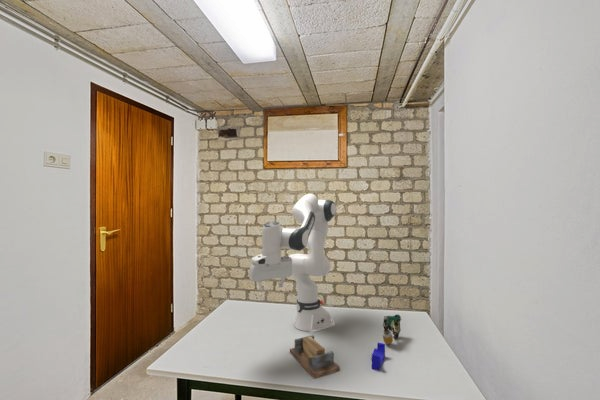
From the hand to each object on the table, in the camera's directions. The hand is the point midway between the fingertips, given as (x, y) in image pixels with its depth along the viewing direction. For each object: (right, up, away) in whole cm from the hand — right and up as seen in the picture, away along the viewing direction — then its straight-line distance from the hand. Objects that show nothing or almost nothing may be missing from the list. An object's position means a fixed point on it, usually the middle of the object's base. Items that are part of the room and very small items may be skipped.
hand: (271, 288), depth 136 cm
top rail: (+19, -27, -8) cm, 34 cm away
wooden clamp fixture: (+19, -29, -8) cm, 35 cm away
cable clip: (+46, -29, -9) cm, 55 cm away
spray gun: (+58, -29, +10) cm, 66 cm away
